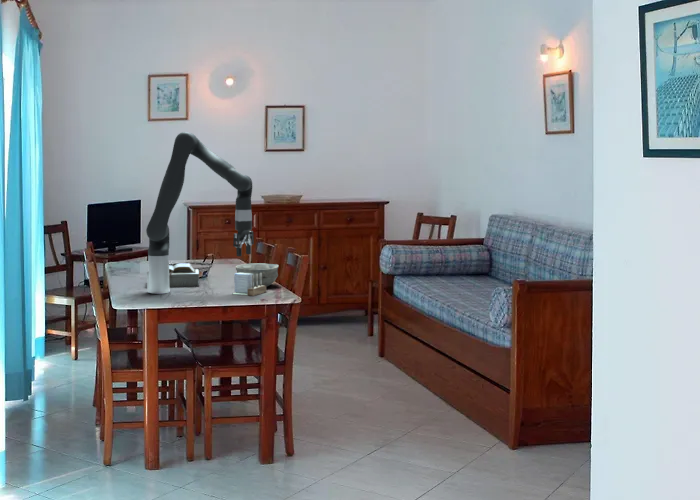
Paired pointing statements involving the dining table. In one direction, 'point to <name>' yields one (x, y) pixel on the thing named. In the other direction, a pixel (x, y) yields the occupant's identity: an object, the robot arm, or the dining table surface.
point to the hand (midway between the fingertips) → (243, 255)
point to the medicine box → (242, 282)
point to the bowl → (267, 272)
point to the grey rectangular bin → (183, 275)
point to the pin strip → (256, 289)
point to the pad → (240, 293)
